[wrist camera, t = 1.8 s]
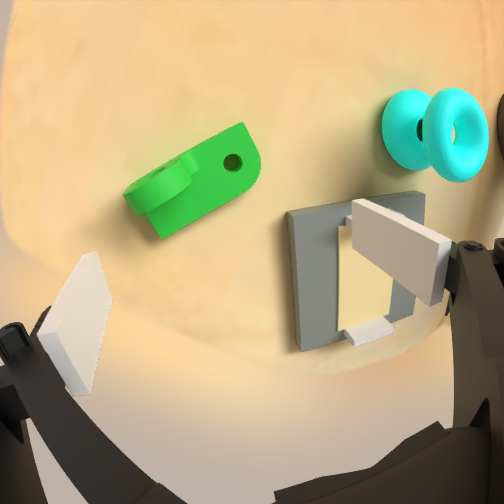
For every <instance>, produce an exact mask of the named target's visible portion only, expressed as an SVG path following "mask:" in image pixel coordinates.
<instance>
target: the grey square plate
mask: <svg viewBox="0 0 504 504" xmlns="http://www.w3.org/2000/svg"><path fill="white" fill-rule="evenodd" d="M363 199H366V200H368V201H370V202H373V203H375V204H377V205H380V206H382V207H384V208H386V209H389V210H391V211H393V212H395V213H397V214H400V215H402V216H404V217H406V218H408V219H410V220H412V221H415V222H417V223H419V224H421V225H423V226H424V214H425V194H424V193H421V192H418V191H409V192H402V193H396V194H389V195H382V196H376V197H369V198H363ZM287 222H288V234H289V246H290V258H291V271H292V285H293V299H294V315H295V332H296V344H297V346H298V347H299V349H300V351H301V352H305V351H308V350H311V349H315V348H318V347H321V346H325V345H328V344H331V343H334V342H337V341H340V340H343V339H346V338H347V339H348V340H349V341H350V343H351V344H352V345H353V346H354V347H356V346H359V345H362V344H364V343H367V342H370V341H373V340H375V339H378V338H381V337H383V336H386V335H388V334H391V333H393V329H394V326H392V325H391V324H390V323H392V322H394V321H397V320H400V319H402V318H405V317H407V316H410V315H412V314H413V310H414V304H415V298H416V296H415V295H414V294H413V293H411V292H410V291H409V290H408V289H406V288H405V287H404V286H402V285H401V284H400V283H398V282H397V281H396V280H395V279H393V278H392V277H391V276H389V275H388V274H387V273H385V272H384V271H383V270H381V269H380V268H379V267H377V266H376V265H375V264H373V263H372V262H370V261H369V260H368V259H366V258H365V257H364V256H362V255H361V254H360V253H358V252H357V251H355V250H354V249H353V248H352V201H344V202H338V203H332V204H326V205H320V206H315V207H309V208H303V209H297V210H292V211H287Z"/></svg>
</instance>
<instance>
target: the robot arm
mask: <svg viewBox="0 0 504 504" xmlns="http://www.w3.org/2000/svg"><path fill="white" fill-rule="evenodd" d="M498 138H499V145H500V149H501V153H502V156H503V158H504V95H503V97H502V99H501V102H500V106H499V111H498ZM351 201H352V248H353V249H354V250H355V251H357V252H358V253H360V254H361V255H362V256H364V257H365V258H366V259H368V260H369V261H370V262H372V263H373V264H375V265H376V266H377V267H379V268H380V269H381V270H383V271H384V272H385V273H387V274H388V275H389V276H391V277H392V278H393V279H395V280H396V281H397V282H398V283H400V284H401V285H402V286H404V287H405V288H406V289H408V290H409V291H410V292H411V293H413V294H414V295H415V296H417V297H418V298H419V299H420V300H422V301H423V302H424V303H425V304H427V305H428V306H432V305H434V304H436V303H439V302H441V301H442V298H443V293H444V288H445V289H447V290H448V291H450V295H449V300H448V305H447V309H446V313H445V316H447V315H448V313H449V312H450V319H451V330H452V343H453V363H454V416H453V427H452V428H448V429H444V428H443V427H442V425H441V424H440V423H439V422H438V421H437V422H435V423H433V424H432V425H430V426H428V427H426V428H425V429H423V430H421V431H419V432H418V433H416V434H414V435H413V436H411V437H409V438H407V439H405V440H404V441H403V442H402V443H400V444H399V445H398V446H397V447H396V448H395V449H394V450H393V451H391V452H390V453H389V454H388V455H386V456H385V457H384V458H383V459H382V460H380V461H379V462H378V463H377V464H375V465H374V466H373V467H371V468H368V469H364V470H359V471H354V472H349V473H343V474H337V475H331V476H323V477H319V478H316V479H313V480H310V481H307V482H304V483H301V484H298V485H294V486H291V487H288V488H285V489H281V490H278V491H274V495H275V500H276V502H274V503H272V504H504V238H497V239H495V243H494V249H493V250H486V248H485V247H484V246H483V245H482V244H480V243H477V242H475V241H462V242H460V243H458V244H457V243H455V242H453V241H452V240H451V239H449V238H447V237H445V236H443V235H441V234H439V233H437V232H435V231H433V230H431V229H429V228H427V227H425V226H423V225H421V224H419V223H417V222H415V221H412V220H410V219H408V218H406V217H404V216H402V215H400V214H397V213H395V212H393V211H391V210H389V209H386V208H384V207H382V206H380V205H377V204H375V203H373V202H370V201H368V200H366V199H357V200H351ZM112 303H113V298H112V295H111V293H110V290H109V287H108V284H107V281H106V278H105V275H104V272H103V269H102V266H101V263H100V260H99V257H98V253H97V251H94V252H90V253H86V254H83V255H82V256H81V258H80V259H79V261H78V263H77V264H76V266H75V267H74V269H73V271H72V272H71V274H70V276H69V277H68V279H67V281H66V282H65V284H64V286H63V287H62V289H61V291H60V293H59V294H58V296H57V298H56V300H55V302H54V303H53V305H52V306H49V307H48V308H47V309H46V310H45V311H44V312H43V313H42V314H41V316H40V318H39V319H38V322H37V323H36V325H35V328H34V329H33V330H32V332H31V334H30V336H29V335H28V334H27V331H26V329H25V327H24V325H23V324H22V323H20V322H14V323H10V324H8V325H6V326H4V327H2V328H1V329H0V357H1V359H2V360H3V362H4V364H5V365H3V366H0V504H48V502H47V499H46V496H45V493H44V490H43V487H42V484H41V480H40V477H39V474H38V470H37V467H36V463H35V460H34V455H33V451H32V447H31V443H30V438H29V434H28V429H27V424H26V419H27V418H31V420H32V421H33V423H34V425H35V427H36V428H37V430H38V432H39V434H40V435H41V437H42V439H43V440H44V442H45V443H46V445H47V447H48V448H49V450H50V451H51V453H52V454H53V456H54V457H55V459H56V460H57V462H58V463H59V465H60V466H61V468H62V469H63V471H64V472H65V473H66V475H67V476H68V477H69V479H70V480H71V482H72V483H73V484H74V486H75V487H76V488H77V489H78V491H79V492H80V493H81V495H82V496H83V497H84V499H85V500H86V501H87V502H88V503H89V504H187V503H186V502H184V501H183V500H182V499H180V498H179V497H177V496H176V495H175V494H174V493H172V492H171V491H170V490H168V489H167V488H166V487H165V486H163V485H162V484H160V483H156V482H155V481H154V480H153V479H151V478H150V477H149V476H148V475H147V474H145V473H144V472H143V471H142V470H141V469H140V468H138V467H137V465H135V464H134V463H133V462H132V461H131V460H130V459H129V458H128V457H127V456H126V455H125V454H124V453H123V452H122V451H121V450H120V449H119V448H118V447H116V445H115V444H113V442H112V441H111V440H109V438H108V437H107V436H106V435H105V434H104V433H103V432H102V431H101V430H100V429H99V428H98V427H97V426H96V424H95V423H94V422H93V421H92V420H91V419H90V418H89V417H88V416H87V414H86V413H85V412H84V411H83V410H82V409H81V407H80V406H79V405H78V404H77V403H76V402H75V400H74V399H73V398H72V397H71V395H70V394H69V393H68V392H67V390H66V389H65V385H66V386H67V388H68V390H69V391H70V393H71V394H72V396H84V395H91V393H92V387H93V382H94V377H95V372H96V368H97V363H98V358H99V353H100V350H101V345H102V341H103V337H104V332H105V329H106V325H107V321H108V317H109V314H110V310H111V306H112Z"/></svg>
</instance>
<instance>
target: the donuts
mask: <svg viewBox="0 0 504 504" xmlns="http://www.w3.org/2000/svg"><path fill="white" fill-rule="evenodd" d="M420 119H421V120H422V123H423V124H422V137H423V138H422V140H421V141H420V140H419V138H418V136H417V124H418V122H419V120H420ZM453 126H454V128H455V141H454V143H452V127H453ZM382 135H383V140H384V143H385V146H386V148H387V150H388V152H389V154H390V155H391V157H392V158H393V159H394V160H395V161H396V162H397V163H398V164H399V165H401V166H402V167H404V168H407V169H410V170H424V169H427V168H429V167H431V166H432V167H433V168H434V169H435V170H436V172H437V173H438V174H439V175H440V176H442V177H443V178H445V179H446V180H449V181H452V182H465V181H468V180H470V179H471V178H473V177H474V176H475V175H476V174H477V173H478V172H479V171H480V169H481V167H482V166H483V164H484V161H485V159H486V156H487V151H488V144H489V134H488V126H487V122H486V118H485V115H484V113H483V111H482V109H481V107H480V105H479V104H478V102H477V101H476V100H475V99H474V98H473V97H472V96H471V95H470V94H468V93H467V92H465V91H463V90H461V89H457V88H447V89H444V90H442V91H440V92H438V93H437V94H436V95H435V96H434V97H433V98H431V97H430V96H429V95H427V94H426V93H424V92H422V91H419V90H414V89H409V90H403V91H401V92H399V93H397V94H396V95H394V96H393V97H392V98H391V99H390V101H389V102H388V104H387V105H386V107H385V110H384V113H383V117H382Z"/></svg>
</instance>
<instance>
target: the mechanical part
mask: <svg viewBox="0 0 504 504" xmlns="http://www.w3.org/2000/svg"><path fill="white" fill-rule="evenodd" d="M229 154H236V155H237V156H238V158H239V164H238V166H237V167H236V168H235V169H234V170H226V169H225V168H224V165H223V162H224V159H225V157H226V156H228V155H229ZM260 169H261V160H260V155H259V152H258V150H257V148H256V146H255V144H254V142H253V140H252V138H251V136H250V134H249V132H248V130H247V129H246V127H245V125H244V123H243V122H242V123H238V124H236V125H234V126H232V127H230V128H228V129H226V130H224V131H222V132H220V133H219V134H217V135H215V136H213V137H211V138H209V139H207V140H205V141H204V142H202V143H200V144H198V145H196V146H194V147H193V148H191V149H189V150H187V151H186V152H184V153H182V154H180V155H179V156H177V157H175V158H173V159H172V160H170V161H168V162H167V163H165V164H163V165H162V166H160V167H158V168H157V169H155V170H153V171H152V172H150V173H148V174H147V175H145V176H144V177H142V178H140V179H139V180H137V181H136V182H134V183H132V184H131V185H130V186H129V188H128V189H127V190H126V191H125V192H124V194H123V196H124V198H125V199H126V201H127V202H128V204H129V206H130V207H131V209H132V210H133V212H134V213H135V215H136V216H139V215H142V214H144V213H145V214H146V216H147V217H148V219H149V220H150V222H151V223H152V225H153V227H154V228H155V230H156V231H157V233H158V234H159V236H160V237H161V239H164V238H166V237H167V236H169V235H171V234H172V233H174V232H176V231H177V230H179V229H181V228H183V227H184V226H186V225H188V224H189V223H191V222H193V221H195V220H196V219H198V218H200V217H201V216H203V215H205V214H207V213H208V212H210V211H212V210H214V209H215V208H217V207H219V206H221V205H223V204H224V203H226V202H228V201H230V200H231V199H233V198H235V197H237V196H239V195H240V194H242V193H244V192H246V191H247V190H248V189H250V188H251V187H252V186H253V185H254V183H255V182H256V180H257V178H258V176H259V173H260Z"/></svg>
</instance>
